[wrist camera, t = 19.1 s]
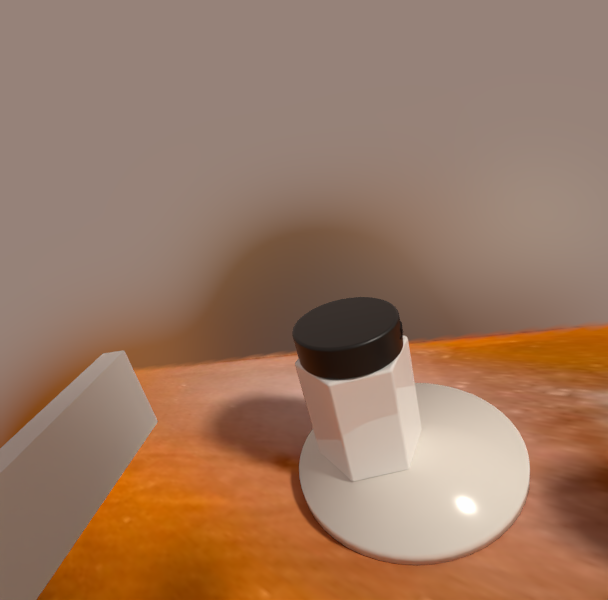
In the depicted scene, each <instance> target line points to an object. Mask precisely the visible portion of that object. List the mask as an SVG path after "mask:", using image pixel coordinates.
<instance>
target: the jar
mask: <svg viewBox="0 0 608 600" xmlns="http://www.w3.org/2000/svg"><path fill="white" fill-rule="evenodd" d="M293 339H294V343H295V346H296V350H297V354H298V357H299V359H298V360H297V361H296V363H295V367H296V370H297V374H298V377H299V381H300V384H301V388H302V391H303V395H304V398H305V402H306V405H307V409H308V413H309V416H310V420H311V423H312V427H313V430H314V434H315V437H316V441H317V444H318V448H319V451H320V453H321V454H322V455H323V456H324V457H325V458H327V459H328V460H329V461H330V462H331V463H332V464H333V465H334V466H335V467H337V468H338V469H339V470H340V471H341V472H342V473H343V474H344V475H346V476H347V477H348V478H349V479H350V480H351V481H353V482H354V481H359V480H363V479H368V478H372V477H377V476H381V475H386V474H390V473H395V472H399V471H404V470H408V469H409V468H410V465H411V462H412V459H413V456H414V453H415V449H416V446H417V443H418V440H419V437H420V434H421V430H422V427H421V420H420V414H419V407H418V401H417V395H416V388H415V382H414V375H413V369H412V362H411V356H410V350H409V343H408V338H407V337H406V336H404V335H403V329H402V323H401V322H400V317H399V313H398V310H397V309H396V308H395V307H394V306H393V305H392V304H391V303H389V302H387V301H384V300H381V299H376V298H369V297H356V298H347V299H341V300H337V301H333V302H330V303H327V304H324V305H321V306H319V307H317V308H315V309H313V310H311V311H309V312H308V313H306V314H305V315H304V316H302V317H301V318H300V319H299V320H298V321H297V323H296V324H295V326H294V328H293Z"/></svg>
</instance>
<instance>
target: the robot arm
mask: <svg viewBox="0 0 608 600" xmlns="http://www.w3.org/2000/svg"><path fill="white" fill-rule="evenodd" d="M157 422H158V421H157V419H156V417H155V415H154V412H153V410H152V408H151V406H150V404H149V402H148V400H147V398H146V396H145V393H144V391H143V389H142V387H141V385H140V383H139V381H138V379H137V376H136V374H135V372H134V370H133V368H132V366H131V364H130V362H129V360H128V358H127V355H126V354H125V351H118V352H111V353H104V354H102V355H101V356H100V357H99V358H98V359H97V360H96V361H94V362H93V363H92V364H91V365H90V366H89V367H88V368H87V369H86V370H85V371H84V372H83V373H81V374H80V375H79V376H78V377H77V378H76V379H75V380H74V381H73V382H72V383H71V384H70V385H69V386H67V387H66V388H65V389H64V390H63V391H62V392H61V393H60V394H59V395H58V396H57V397H56V398H54V399H53V400H52V401H51V402H50V403H49V404H48V405H47V406H46V407H45V408H44V409H43V410H42V411H40V413H38V414H37V415H36V416H35V417H34V418H33V419H32V420H31V421H30V422H29V423H27V424H26V425H25V426H24V427H23V428H22V429H21V430H20V431H19V432H18V433H17V434H16V435H14V436H13V437H12V438H11V439H10V440H9V441H8V442H7V443H6V444H5V445H4V446H3V447H2V448H1V449H0V600H36V599H37V598H38V596H39V595H40V594H41V592H42V591H43V589H44V588H45V586H46V585H47V583H48V582H49V580H50V579H51V577H52V576H53V575H54V573H55V572H56V570H57V569H58V567H59V566H60V564H61V563H62V561H63V560H64V558H65V557H66V555H67V554H68V553H69V551H70V550H71V548H72V547H73V545H74V544H75V542H76V541H77V539H78V538H79V536H80V535H81V534H82V532H83V531H84V529H85V528H86V526H87V525H88V523H89V522H90V520H91V519H92V517H93V516H94V514H95V513H96V512H97V510H98V509H99V507H100V506H101V504H102V503H103V501H104V500H105V498H106V497H107V495H108V494H109V492H110V491H111V490H112V488H113V487H114V485H115V484H116V482H117V481H118V479H119V478H120V476H121V475H122V473H123V472H124V471H125V469H126V468H127V466H128V465H129V463H130V462H131V460H132V459H133V457H134V456H135V454H136V453H137V451H138V450H139V449H140V447H141V446H142V444H143V443H144V441H145V440H146V438H147V437H148V435H149V434H150V432H151V431H152V430H153V428H154V427H155V425H156V424H157Z"/></svg>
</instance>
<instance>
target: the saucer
mask: <svg viewBox="0 0 608 600" xmlns="http://www.w3.org/2000/svg"><path fill="white" fill-rule="evenodd" d="M415 388H416V395H417V401H418V407H419V414H420V420H421V427H422V430H421V434H420V437H419V440H418V443H417V446H416V449H415V453H414V456H413V459H412V462H411V465H410V468H409V469H408V470H404V471H399V472H395V473H390V474H386V475H381V476H377V477H372V478H368V479H363V480H359V481H354V482H353V481H351V480H350V479H349V478H348V477H347V476H346V475H344V474H343V473H342V472H341V471H340V470H339V469H338V468H337V467H335V466H334V465H333V464H332V463H331V462H330V461H329V460H328V459H327V458H325V457H324V456H323V455H322V454H321V453H320V451H319V448H318V444H317V441H316V437H315V434H314V430H313V429H312V431H311V432H310V434H309V435H308V437H307V439H306V441H305V443H304V445H303V449H302V452H301V455H300V462H299V478H300V482H301V487H302V491H303V494H304V497H305V499H306V502H307V505H308V507H309V509H310V511H311V512H312V514H313V516H314V518H315V519H316V520H317V522H318V523H319V524H320V525H321V526H322V528H323V529H324V530H325V531H326V532H327V533H329V534H330V535H331V536H332V537H333V538H334V539H335V540H337V541H338V542H340V543H341V544H343V545H344V546H346V547H347V548H349V549H351V550H353V551H356V552H358V553H360V554H362V555H364V556H367V557H370V558H373V559H376V560H379V561H384V562H390V563H395V564H405V565H428V564H438V563H443V562H449V561H454V560H457V559H460V558H463V557H466V556H469V555H471V554H473V553H475V552H477V551H479V550H481V549H483V548H485V547H487V546H489V545H490V544H491V543H493V542H494V541H496V540H497V539H498V538H500V537H501V536H502V535H503V534H504V533H505V532H506V531H507V530H508V529H509V528H510V527H511V526H512V525H513V523H514V522H515V521H516V519H517V518H518V516H519V515H520V513H521V511H522V509H523V507H524V505H525V503H526V500H527V496H528V492H529V486H530V464H529V457H528V452H527V449H526V446H525V443H524V441H523V439H522V437H521V435H520V433H519V431H518V430H517V429H516V427H515V426H514V425H513V423H512V422H511V421H510V420H509V419H508V418H507V417H506V416H505V415H504V414H503V413H502V412H501V411H499V410H498V409H497V408H495V407H494V406H493V405H491V404H490V403H488V402H486V401H485V400H483V399H481V398H479V397H477V396H475V395H473V394H470V393H468V392H465V391H462V390H459V389H456V388H452V387H448V386H443V385H437V384H428V383H415Z"/></svg>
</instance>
